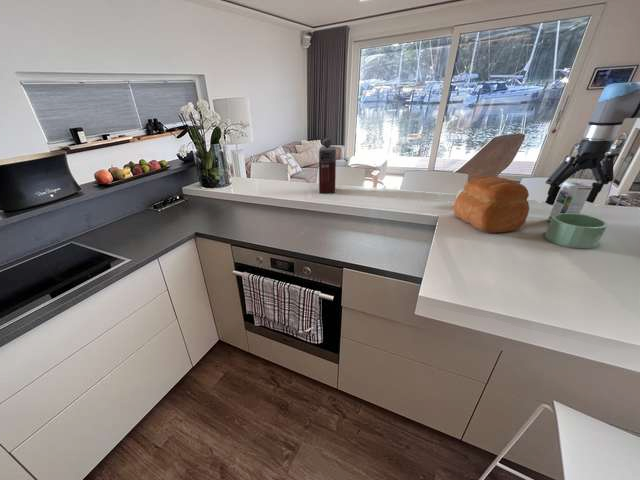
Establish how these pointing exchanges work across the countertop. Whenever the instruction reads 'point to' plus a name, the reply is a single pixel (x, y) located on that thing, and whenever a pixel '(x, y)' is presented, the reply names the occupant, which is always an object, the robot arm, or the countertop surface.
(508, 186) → the bread
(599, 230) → the crock
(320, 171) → the glass liquor decanter
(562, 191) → the syrup box
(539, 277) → the countertop surface
